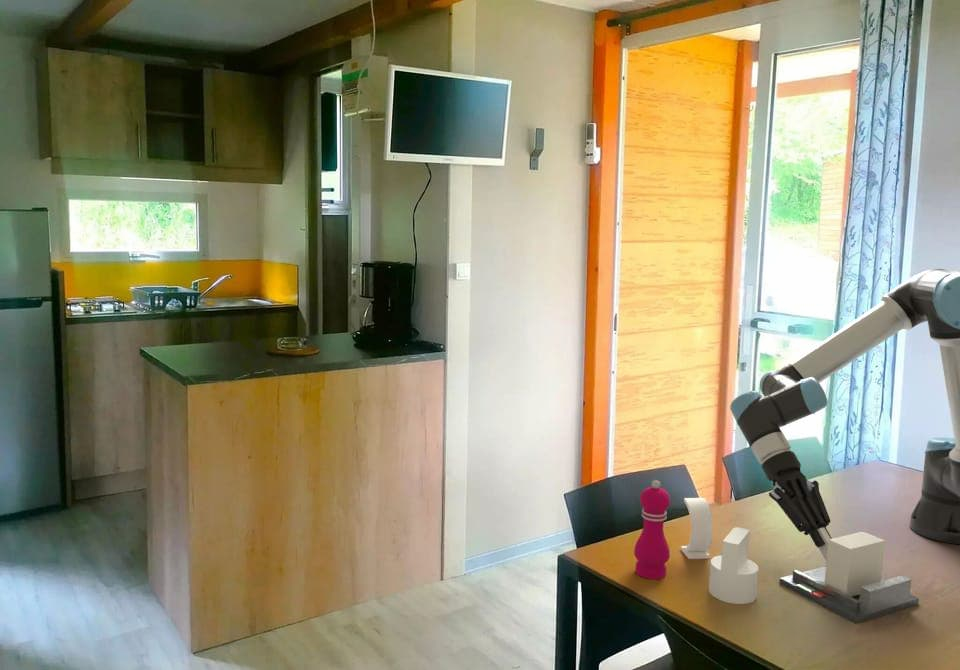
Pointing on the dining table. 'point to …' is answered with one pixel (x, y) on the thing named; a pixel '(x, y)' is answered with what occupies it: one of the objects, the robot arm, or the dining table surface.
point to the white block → (854, 562)
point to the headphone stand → (699, 529)
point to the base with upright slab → (734, 570)
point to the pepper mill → (653, 534)
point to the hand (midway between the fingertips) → (834, 560)
